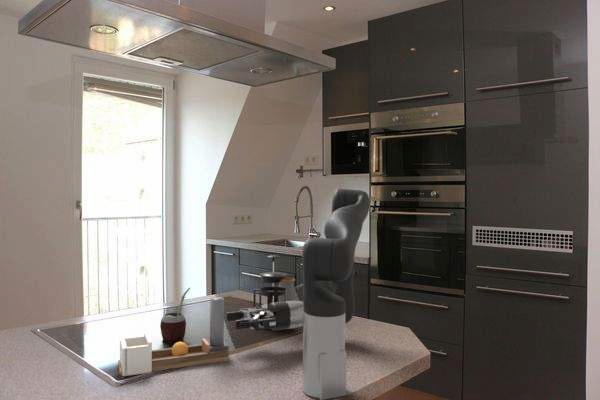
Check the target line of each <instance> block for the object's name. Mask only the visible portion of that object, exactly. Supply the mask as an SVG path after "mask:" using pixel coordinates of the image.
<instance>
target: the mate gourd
mask: <svg viewBox="0 0 600 400" xmlns="http://www.w3.org/2000/svg"><path fill="white" fill-rule="evenodd" d="M190 290H191V287H188V289H186V290H185V292H184V293H183V295H182V296H181V298H180V299H181V300H180V304H179V308H178V311H177V312H168V313H165V314H164V315H163V316H162V317H161V319H160V320H161V321H160V326H159V327H160V334H161V338H162V340H161V343H164V344H165V343H167V344H168V343H169V344H168V346H169V347H171V346H172V347H173V346H174V344H175V343H177V342H184V343H185V340H184V339H185V335H186V327H187V321H186V317H185V316H184V314H183V313H181V310H182V307H183V303H184V300H185V298H186V297H185V296H186V295H187V294H188V292H189V291H190Z"/></svg>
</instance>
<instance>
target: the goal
mask: <svg viewBox="0 0 600 400" xmlns="http://www.w3.org/2000/svg"><path fill="white" fill-rule="evenodd" d="M152 346H153V342H152V340H151V337H150V334H149V333H148V331H144V332H143V335H137V336H127V337H120V338H119V360H120V362H121V367H122V376H121V377H127V376H134V375H142V374H147V373H152V372H153V371H152V350H153V349H152V348H153V347H152Z"/></svg>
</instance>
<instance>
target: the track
mask: <svg viewBox="0 0 600 400" xmlns="http://www.w3.org/2000/svg"><path fill="white" fill-rule="evenodd" d="M187 346H188V352H187V354H186V355H183V356H174V355H173V354H172V347H169V348H161V349H160V348H159V349H152V372H156V371H158V372H159V371H164V370H163V369H165V370H169V369H170V368H172V369H177V368H178V369H179V368H184V367H193V366H200V365H206V364H212V363H214V364H215V363H221V362H228V361H229V353H228V350H221V351H213V352H206V353H204V352H203V351H202V343H200V344H193V345H187ZM117 367H118V371H119V376H120V377H123V376H122V367H121V362H120V359H119V360H118V359H117ZM168 368H169V369H168ZM170 370H171V369H170Z"/></svg>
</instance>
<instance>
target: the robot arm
mask: <svg viewBox="0 0 600 400" xmlns="http://www.w3.org/2000/svg"><path fill="white" fill-rule="evenodd" d="M370 202H371V201H370V197H369V194H368V193H367V192H366V191H363V190H360V189H349V188H348V189H346V188H337V189H336V190H335V191H334V192H333V196H332V202H331V214H330V215H329V217H328V219H327V220H326V223H325V224H324V230H323V231H324V237H325V238H320V237H319V238H317V237H316V238H314V237H312V238H311V237H310V238H308V239H306V240H305V241H304V244H303V247H302V252H301V253H302V254H301V257H302V258H301V265H302V266H301V268H302V284H303V286H302V287H303V288H302V292H303V295H302V298H303V300H300V301H285V302H274V303H270V304H269V306H268V309H267V310H263V309H260V307H259V306H257V307H255V308H254V307H243V308H239V310H238V311H228V312H226V314H225V316H226V317H225V318H226V321H227V322H232V321H234V328H235V330H243V329H251V330H254V331H257V332H258V331H262V330H269V329H272V331H282V330H289V329H297V328H301V327H302V392H303V393H304V394H305V395H306V396H309V397H311V398H316V399H318V400H329V399H334V398H339V397H345V396H346V395H347V351H346V324H347V323H349V322H350V321H351V320H352V319H353V317H354V316H355V315H354V314H355V310H356V301H355V294H354V287H353V284H354V274H355V253H356V247H357V244H358V241H359V239H360V236H361V234H362V230H363V225H364V222H365V220H366V218H367V217H368V214H369V212H370V211H369V210H370ZM320 281H321V282H328V283H329V287H330V288H332V290H333V293H332V292H331V291H329V290H327V289H326V288H325V287H324V286H323V285H322V284H321V283H320Z"/></svg>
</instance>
